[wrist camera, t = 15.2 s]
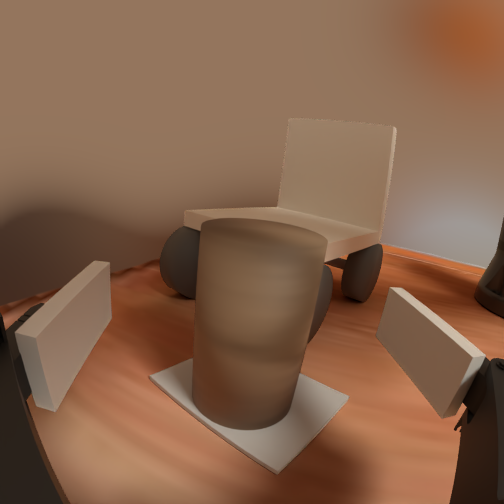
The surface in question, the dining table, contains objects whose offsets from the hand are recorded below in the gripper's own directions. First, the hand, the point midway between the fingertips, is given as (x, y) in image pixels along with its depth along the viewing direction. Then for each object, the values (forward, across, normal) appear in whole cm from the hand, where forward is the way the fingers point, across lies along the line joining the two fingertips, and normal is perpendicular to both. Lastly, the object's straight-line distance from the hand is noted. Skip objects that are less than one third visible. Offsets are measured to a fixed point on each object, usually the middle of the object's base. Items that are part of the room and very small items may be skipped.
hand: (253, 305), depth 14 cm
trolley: (+19, +6, -7) cm, 21 cm away
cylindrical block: (+2, 0, -7) cm, 7 cm away
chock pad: (+2, +1, -7) cm, 8 cm away
